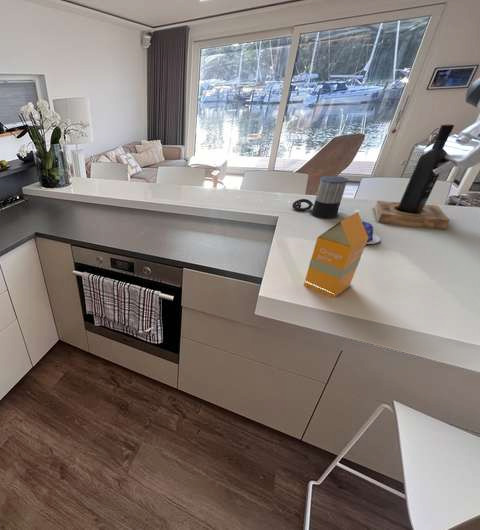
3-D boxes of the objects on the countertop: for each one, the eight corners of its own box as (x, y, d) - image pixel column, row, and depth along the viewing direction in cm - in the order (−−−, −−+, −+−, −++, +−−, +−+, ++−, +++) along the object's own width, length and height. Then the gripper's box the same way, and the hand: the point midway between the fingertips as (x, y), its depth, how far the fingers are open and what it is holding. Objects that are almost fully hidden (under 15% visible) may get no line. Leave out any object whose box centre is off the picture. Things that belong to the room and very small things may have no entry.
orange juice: (350, 285, 77) (377, 215, 67) (333, 298, 73) (360, 225, 63) (319, 274, 83) (340, 207, 73) (302, 285, 79) (322, 216, 69)
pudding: (332, 229, 106) (336, 216, 103) (372, 232, 102) (377, 218, 99) (340, 244, 97) (345, 229, 94) (385, 247, 92) (391, 232, 90)
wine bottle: (422, 213, 107) (465, 124, 92) (412, 216, 105) (453, 126, 90) (404, 208, 112) (442, 123, 96) (394, 211, 110) (431, 125, 95)
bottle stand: (433, 213, 111) (437, 204, 109) (445, 230, 99) (450, 220, 97) (374, 208, 120) (377, 200, 118) (378, 222, 108) (381, 214, 106)
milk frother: (339, 219, 113) (351, 182, 106) (294, 217, 119) (302, 181, 112) (331, 207, 125) (342, 172, 117) (290, 205, 130) (298, 172, 123)
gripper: (448, 127, 101) (403, 157, 109) (497, 135, 84) (440, 170, 92) (458, 140, 102) (413, 169, 110) (508, 150, 85) (450, 183, 93)
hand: (425, 169), depth 101 cm, fingers closed on wine bottle, 7 cm apart
